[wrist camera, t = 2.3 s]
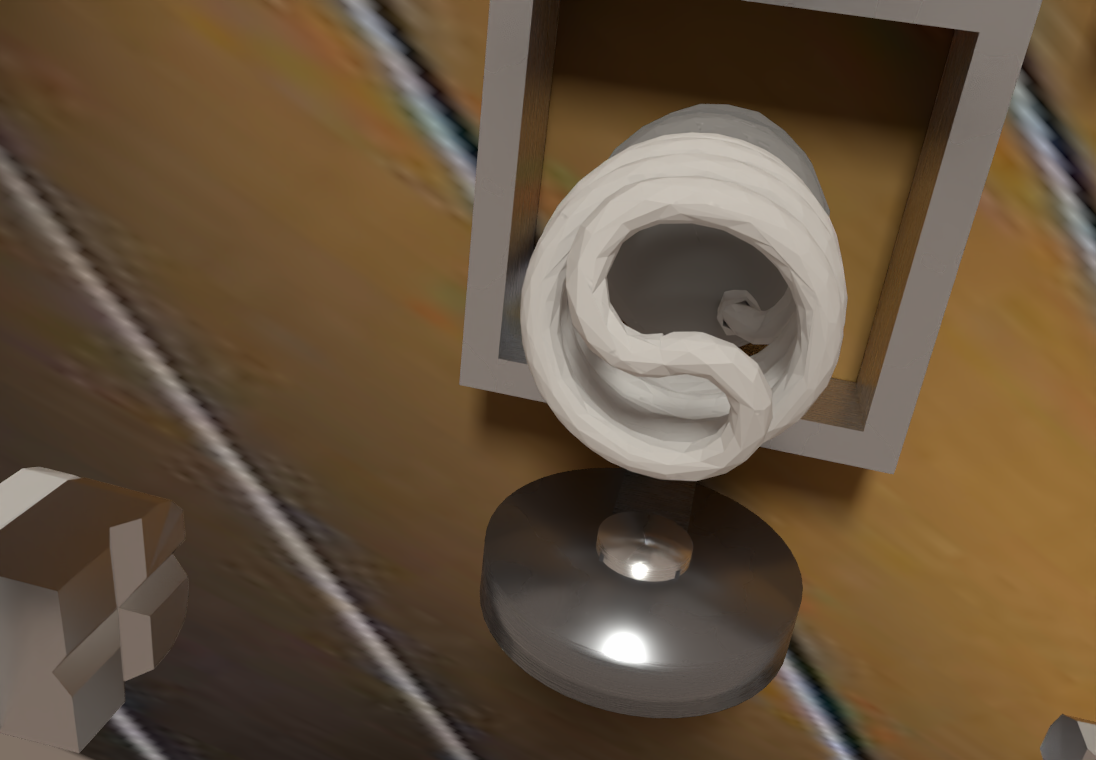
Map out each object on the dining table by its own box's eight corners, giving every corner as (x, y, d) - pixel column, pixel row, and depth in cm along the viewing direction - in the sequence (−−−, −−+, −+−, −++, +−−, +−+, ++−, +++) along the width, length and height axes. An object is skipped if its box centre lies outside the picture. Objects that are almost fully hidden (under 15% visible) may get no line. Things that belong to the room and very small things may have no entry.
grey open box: (529, -81, 24) (392, -91, 16) (1015, -19, 22) (1146, 5, 14) (478, 470, 31) (364, 662, 23) (844, 551, 29) (865, 791, 21)
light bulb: (570, 167, 26) (417, 324, 16) (741, 26, 24) (699, 97, 13) (697, 326, 27) (635, 575, 17) (873, 206, 25) (934, 408, 14)
